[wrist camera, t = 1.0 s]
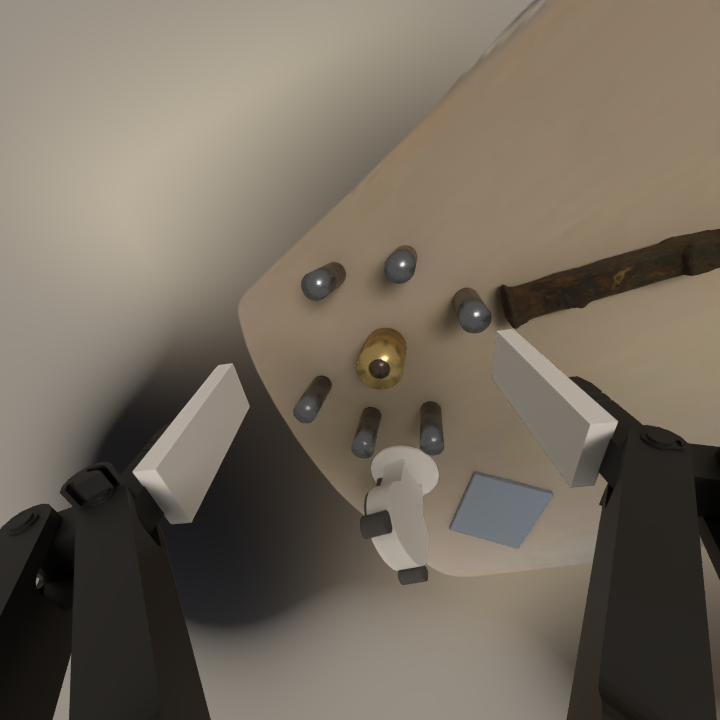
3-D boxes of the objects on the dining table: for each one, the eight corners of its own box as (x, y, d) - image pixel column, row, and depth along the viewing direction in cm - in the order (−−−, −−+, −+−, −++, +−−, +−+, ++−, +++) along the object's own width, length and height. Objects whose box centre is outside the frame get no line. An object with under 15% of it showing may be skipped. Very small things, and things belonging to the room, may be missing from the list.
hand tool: (502, 320, 38) (514, 336, 33) (495, 283, 36) (507, 294, 31) (737, 261, 31) (796, 270, 26) (742, 213, 29) (808, 213, 24)
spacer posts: (492, 260, 35) (509, 271, 28) (432, 437, 47) (433, 477, 40) (327, 231, 37) (304, 234, 30) (310, 407, 49) (291, 439, 42)
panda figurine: (357, 455, 52) (333, 537, 38) (415, 433, 47) (412, 517, 34) (392, 502, 55) (381, 593, 41) (450, 485, 50) (459, 581, 37)
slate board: (552, 491, 47) (553, 494, 46) (517, 545, 53) (518, 548, 53) (474, 471, 48) (475, 474, 48) (449, 526, 54) (450, 529, 54)
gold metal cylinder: (410, 332, 40) (407, 353, 34) (401, 368, 43) (397, 394, 37) (369, 324, 41) (360, 343, 35) (363, 359, 44) (353, 383, 37)
